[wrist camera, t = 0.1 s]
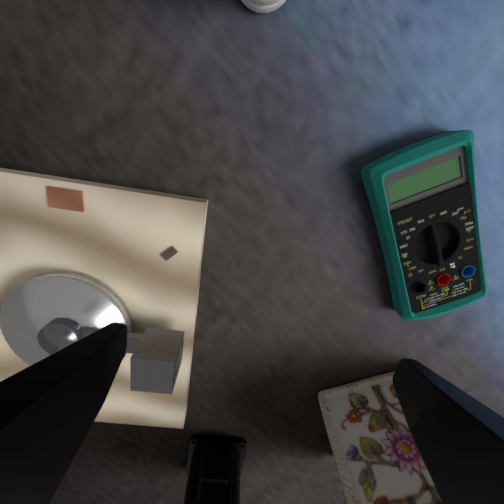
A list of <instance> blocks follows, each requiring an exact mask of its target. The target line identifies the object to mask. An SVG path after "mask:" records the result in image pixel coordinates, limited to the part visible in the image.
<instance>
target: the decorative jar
mask: <svg viewBox="0 0 504 504" xmlns="http://www.w3.org/2000/svg"><path fill="white" fill-rule="evenodd" d="M394 373H395V371H392V372H388V373H385V374H381V375H377V376H373V377H369V378H366V379H362V380H359V381H356V382H352V383H349V384H345V385H341V386H338V387H334V388H330V389H326V390H323V391H320V392H319V393H318V400H319V404H320V408H321V411H322V415H323V420H324V423H325V427H326V430H327V434H328V438H329V441H330V444H331V448H332V451H333V454H334V458H335V461H336V465H337V468H338V471H339V475H340V478H341V482H342V485H343V489H344V492H345V503H346V504H443V503H442V500H441V498H440V496H439V494H438V492H437V490H436V487H435V485H434V483H433V481H432V479H431V477H430V474H429V472H428V470H427V468H426V466H425V464H424V461H423V459H422V457H421V455H420V453H419V450H418V448H417V446H416V444H415V442H414V440H413V437H412V435H411V433H410V430H409V428H408V425H407V422H406V419H405V417H404V414H403V411H402V408H401V406H400V403H399V400H398V397H397V394H396V392H395V389H394V386H393V382H392V378H393V375H394Z"/></svg>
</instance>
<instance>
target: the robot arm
mask: <svg viewBox="0 0 504 504" xmlns="http://www.w3.org/2000/svg"><path fill="white" fill-rule="evenodd" d="M126 349H127V325H126V324H123V323H110V324H108V325H106V326H105V327H103V328H101V329H99V330H97V331H95V332H93V333H91V334H89V335H87V336H86V337H84V338H82V339H80V340H78V341H76V342H74V343H72V344H70V345H69V346H67V347H65V348H63V349H61V350H59V351H57V352H55V353H53V354H51V355H50V356H48V357H46V358H44V359H42V360H40V361H38V362H36V363H34V364H33V365H31V366H29V367H27V368H25V369H23V370H21V371H19V372H17V373H15V374H14V375H12V376H10V377H8V378H6V379H4V380H2V381H0V504H49V502H50V500H51V499H52V497H53V495H54V493H55V491H56V489H57V488H58V486H59V484H60V482H61V480H62V479H63V477H64V475H65V473H66V471H67V470H68V468H69V466H70V464H71V462H72V460H73V459H74V457H75V455H76V453H77V451H78V450H79V448H80V446H81V444H82V442H83V440H84V439H85V437H86V435H87V433H88V431H89V430H90V428H91V426H92V424H93V422H94V421H95V419H96V417H97V415H98V413H99V411H100V410H101V408H102V406H103V404H104V402H105V400H106V397H107V395H108V393H109V391H110V388H111V386H112V383H113V381H114V379H115V376H116V374H117V372H118V369H119V367H120V365H121V362H122V360H123V357H124V355H125V352H126ZM392 382H393V386H394V389H395V392H396V394H397V397H398V400H399V403H400V406H401V408H402V411H403V414H404V417H405V419H406V422H407V425H408V428H409V430H410V433H411V435H412V437H413V440H414V442H415V444H416V446H417V448H418V450H419V453H420V455H421V457H422V459H423V461H424V464H425V466H426V468H427V470H428V472H429V474H430V477H431V479H432V481H433V483H434V485H435V487H436V490H437V492H438V494H439V496H440V498H441V500H442V503H443V504H504V417H502V416H501V415H499V414H498V413H496V412H494V411H493V410H491V409H490V408H488V407H487V406H485V405H484V404H482V403H481V402H479V401H478V400H476V399H475V398H473V397H471V396H470V395H468V394H467V393H465V392H464V391H462V390H461V389H459V388H458V387H456V386H455V385H453V384H452V383H450V382H448V381H447V380H445V379H444V378H442V377H441V376H439V375H438V374H436V373H435V372H433V371H432V370H430V369H429V368H427V367H425V366H424V365H422V364H421V363H419V362H418V361H416V360H413V359H405V358H404V359H401V360H400V362H399V364H398V366H397V368H396V370H395V373H394V375H393V378H392ZM246 448H247V441H246V440H242V439H230V438H218V437H206V436H192V437H191V438H190V443H189V452H188V461H187V470H186V475H188V480H187V486H186V492H185V498H184V504H240V475H241V470H242V466H243V461H244V457H245V452H246Z"/></svg>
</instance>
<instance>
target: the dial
mask: <svg viewBox="0 0 504 504" xmlns="http://www.w3.org/2000/svg"><path fill="white" fill-rule="evenodd" d="M110 323H123V324H126V325H127V349H126V352H125V355H126V354H127V353H132V356H131V358H130V391H140V392H151V393H162V394H172V392H173V389H174V386H175V382H176V379H177V376H178V372H179V369H180V365H181V362H182V355H183V344H184V332H185V331H177V330H168V329H160V328H151V327H147V329H146V331H145V332H144V334H141V333H134V324H133V320H132V317H131V314H130V312H129V310H128V308H127V306H126V305H125V303H124V302H123V301H122V299H121V298H120V297H119V296H118V295H117V294H116V293H115V292H114V291H113V290H112V289H110V288H109V287H108V286H106V285H105V284H103V283H101V282H100V281H98V280H96V279H94V278H91V277H89V276H86V275H83V274H79V273H74V272H67V271H53V272H47V273H43V274H40V275H37V276H35V277H33V278H31V279H29V280H28V281H26V282H24V283H23V284H21V285H19V286H18V287H16V288H15V289H13V290H12V291H11V292H10V293H9V294H8V296H7V297H6V298H5V300H4V302H3V304H2V306H1V310H0V327H1V330H2V333H3V336H4V338H5V340H6V342H7V343H8V345H9V346H10V348H11V349H12V350H13V352H14V353H15V354H16V355H17V356H18V357H19V358H20V359H22V360H23V361H24V362H25V363H27V364H28V365H30V366H31V365H33V364H34V363H36V362H38V361H40V360H42V359H44V358H46V357H48V356H50V355H51V354H53V353H55V352H57V351H59V350H61V349H63V348H65V347H67V346H69V345H70V344H72V343H74V342H76V341H78V340H80V339H82V338H84V337H86V336H87V335H89V334H91V333H93V332H95V331H97V330H99V329H101V328H103V327H105V326H106V325H108V324H110ZM125 355H124V357H125ZM124 357H123V359H124Z"/></svg>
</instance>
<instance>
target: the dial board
mask: <svg viewBox="0 0 504 504" xmlns="http://www.w3.org/2000/svg"><path fill="white" fill-rule="evenodd" d="M207 205H208V199H202V198H195V197H189V196H182V195H176V194H169V193H163V192H156V191H150V190H143V189H137V188H130V187H124V186H117V185H111V184H104V183H98V182H91V181H84V180H78V179H71V178H65V177H58V176H52V175H45V174H39V173H32V172H26V171H19V170H13V169H6V168H0V310H1V306H2V304H3V302H4V300H5V298H6V297H7V296H8V294H9V293H10V292H11V291H12V290H13V289H15V288H16V287H18V286H19V285H21V284H23V283H24V282H26V281H28V280H29V279H31V278H33V277H35V276H37V275H40V274H43V273H47V272H53V271H67V272H74V273H79V274H83V275H86V276H89V277H91V278H94V279H96V280H98V281H100V282H101V283H103V284H105V285H106V286H108V287H109V288H110V289H112V290H113V291H114V292H115V293H116V294H117V295H118V296H119V297H120V298H121V299H122V301H123V302H124V303H125V305H126V306H127V308H128V310H129V312H130V314H131V317H132V320H133V324H134V333H141V334H144V332H145V331H146V329H147V327H151V328H160V329H168V330H177V331H185V332H184V344H183V355H182V362H181V365H180V369H179V372H178V376H177V379H176V382H175V386H174V389H173V392H172V394H162V393H151V392H140V391H130V358H131V356H132V353H127V354H126V355H125V357H124V359H123V360H122V362H121V365H120V367H119V369H118V372H117V374H116V376H115V379H114V381H113V383H112V386H111V388H110V391H109V393H108V395H107V397H106V400H105V402H104V404H103V406H102V408H101V410H100V411H99V413H98V415H97V417H96V419H95V422H107V423H119V424H131V425H143V426H155V427H167V428H179V429H183V428H184V423H185V418H186V412H187V402H188V392H189V382H190V372H191V363H192V353H193V343H194V333H195V323H196V313H197V303H198V294H199V284H200V274H201V264H202V254H203V244H204V234H205V224H206V215H207ZM29 366H30V365H28V364H27V363H25V362H24V361H23V360H22V359H20V358H19V357H18V356H17V355H16V354H15V353H14V352H13V350H12V349H11V348H10V346H9V345H8V343H7V342H6V340H5V338H4V336H3V333H2V330H1V327H0V381H2V380H4V379H6V378H8V377H10V376H12V375H14V374H15V373H17V372H19V371H21V370H23V369H25V368H27V367H29Z"/></svg>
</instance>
